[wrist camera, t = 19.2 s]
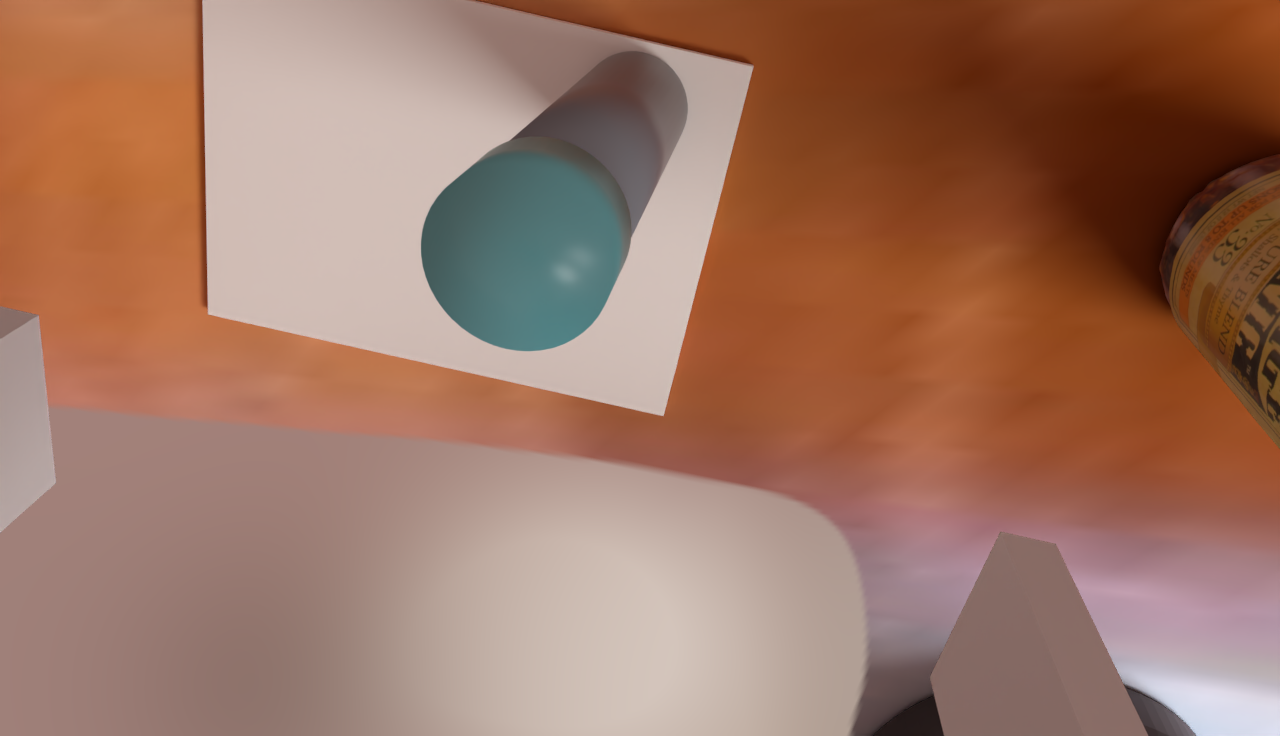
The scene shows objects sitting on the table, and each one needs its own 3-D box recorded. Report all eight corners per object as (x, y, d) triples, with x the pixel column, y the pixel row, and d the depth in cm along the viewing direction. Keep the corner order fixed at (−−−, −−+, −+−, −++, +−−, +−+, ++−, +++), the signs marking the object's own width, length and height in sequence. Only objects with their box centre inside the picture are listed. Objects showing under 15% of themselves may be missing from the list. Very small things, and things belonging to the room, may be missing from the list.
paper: (664, 411, 33) (663, 416, 33) (212, 310, 33) (208, 314, 32) (753, 64, 27) (753, 66, 27) (206, -62, 27) (201, -62, 27)
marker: (713, 124, 28) (651, 291, 16) (620, 186, 29) (502, 382, 17) (647, 23, 27) (532, 124, 15) (553, 91, 28) (381, 233, 16)
